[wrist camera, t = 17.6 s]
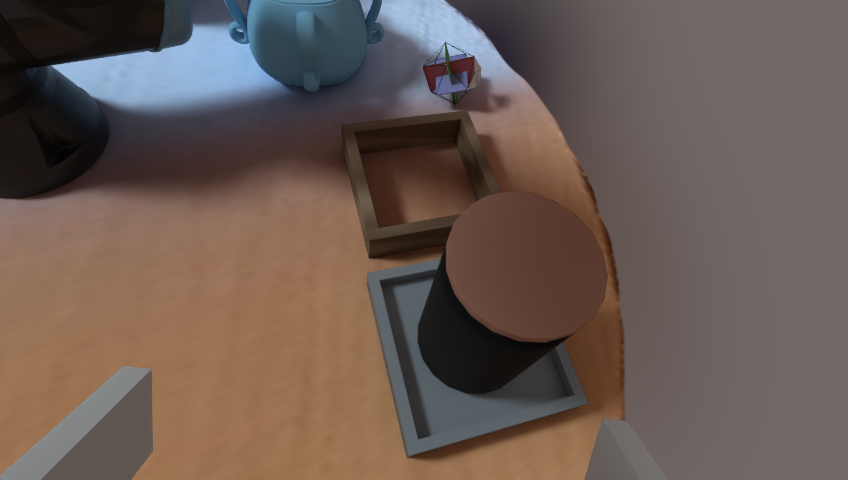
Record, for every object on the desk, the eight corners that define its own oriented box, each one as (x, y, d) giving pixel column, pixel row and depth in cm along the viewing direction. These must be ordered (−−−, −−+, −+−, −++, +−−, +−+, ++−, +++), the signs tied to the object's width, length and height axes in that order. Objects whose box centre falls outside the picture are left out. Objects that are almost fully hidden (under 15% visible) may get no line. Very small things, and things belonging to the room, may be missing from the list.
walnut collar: (342, 147, 56) (341, 124, 52) (461, 132, 59) (467, 110, 56) (368, 258, 49) (369, 240, 46) (500, 234, 53) (510, 215, 49)
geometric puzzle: (409, 95, 59) (455, 58, 54) (410, 58, 62) (454, 20, 57) (448, 122, 63) (494, 91, 58) (447, 87, 66) (490, 54, 61)
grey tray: (366, 283, 48) (367, 273, 45) (515, 253, 52) (522, 243, 49) (406, 457, 40) (409, 455, 38) (577, 407, 44) (588, 403, 42)
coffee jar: (525, 301, 48) (606, 208, 32) (518, 407, 42) (611, 356, 27) (425, 280, 47) (458, 175, 32) (406, 384, 42) (433, 319, 27)
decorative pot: (223, 51, 61) (191, -54, 50) (316, 5, 68) (307, -97, 56) (304, 120, 57) (289, 24, 46) (394, 64, 64) (401, -33, 52)
